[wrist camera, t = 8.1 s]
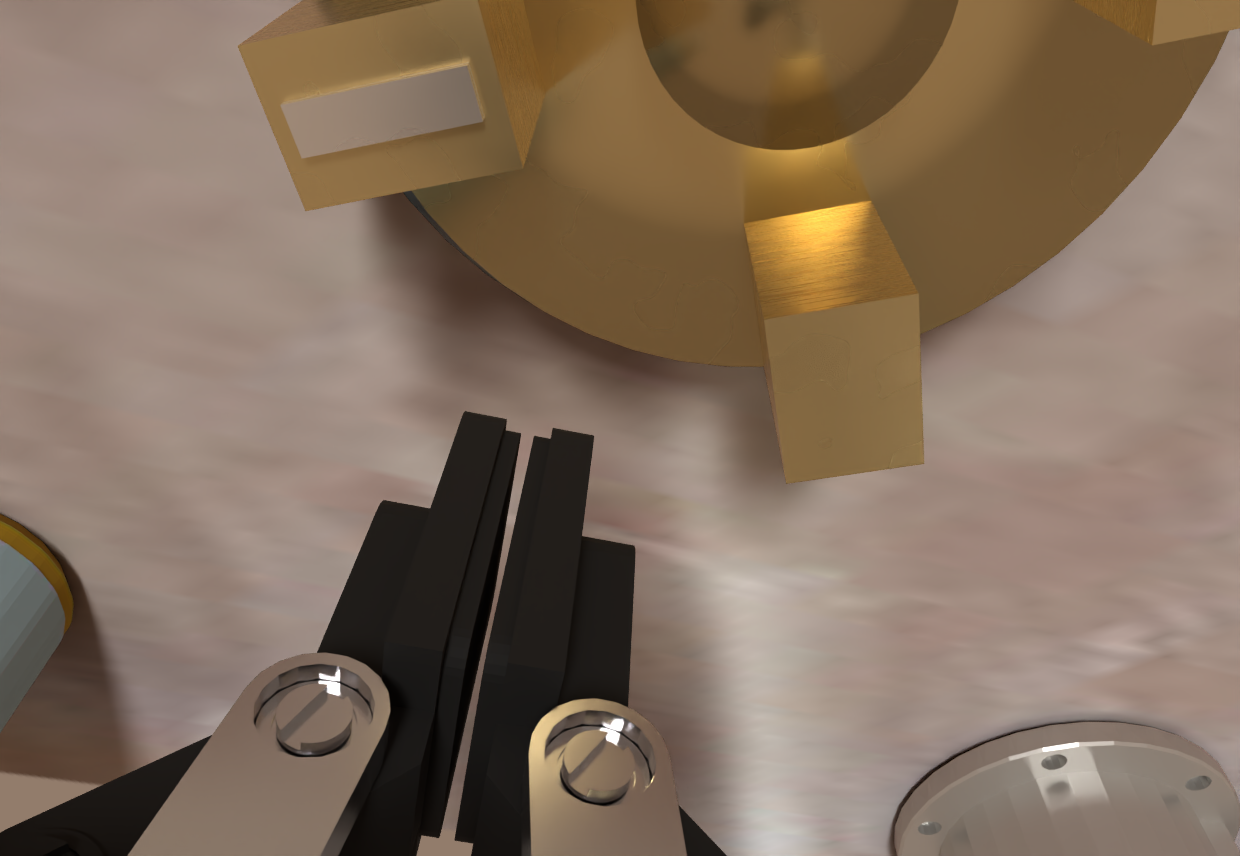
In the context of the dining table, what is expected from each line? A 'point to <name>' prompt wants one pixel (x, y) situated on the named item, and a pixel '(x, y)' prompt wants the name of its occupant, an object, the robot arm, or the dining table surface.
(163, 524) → the dining table surface
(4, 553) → the bottle
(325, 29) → the gold crown turntable
